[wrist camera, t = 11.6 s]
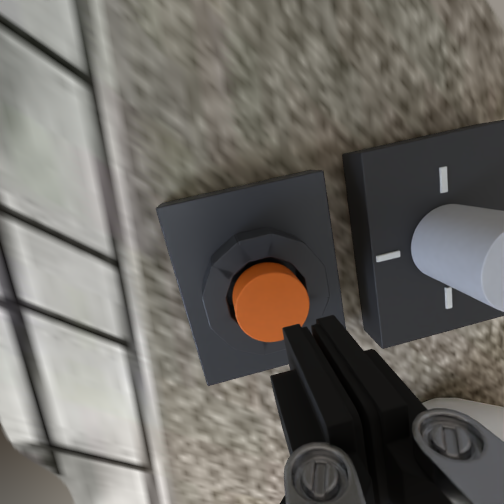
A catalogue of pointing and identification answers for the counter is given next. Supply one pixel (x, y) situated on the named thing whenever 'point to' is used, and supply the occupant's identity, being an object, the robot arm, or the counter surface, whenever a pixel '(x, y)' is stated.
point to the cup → (474, 412)
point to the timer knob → (463, 250)
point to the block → (249, 262)
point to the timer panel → (407, 219)
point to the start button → (269, 301)
